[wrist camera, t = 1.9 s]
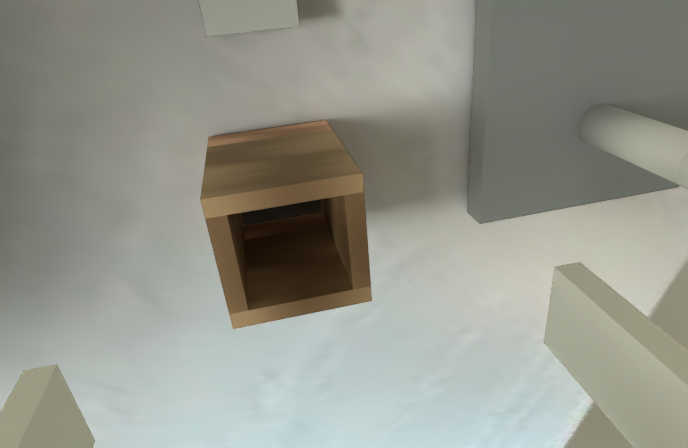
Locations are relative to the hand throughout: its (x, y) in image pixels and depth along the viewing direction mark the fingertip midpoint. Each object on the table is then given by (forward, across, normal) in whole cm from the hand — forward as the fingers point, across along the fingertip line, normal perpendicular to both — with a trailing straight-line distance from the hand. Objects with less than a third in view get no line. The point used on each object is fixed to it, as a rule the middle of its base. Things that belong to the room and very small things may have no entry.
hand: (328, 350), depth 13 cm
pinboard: (+12, +16, +6) cm, 21 cm away
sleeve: (+12, 0, 0) cm, 12 cm away
